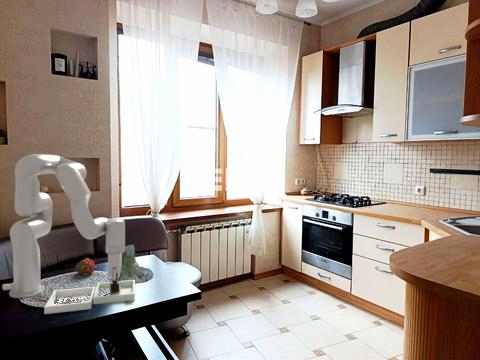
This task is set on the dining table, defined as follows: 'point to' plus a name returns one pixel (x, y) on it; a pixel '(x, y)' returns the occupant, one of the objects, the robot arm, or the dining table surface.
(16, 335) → the dining table surface
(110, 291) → the birch block
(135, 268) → the tree stump
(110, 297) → the sage bin
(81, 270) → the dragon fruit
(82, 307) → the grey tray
